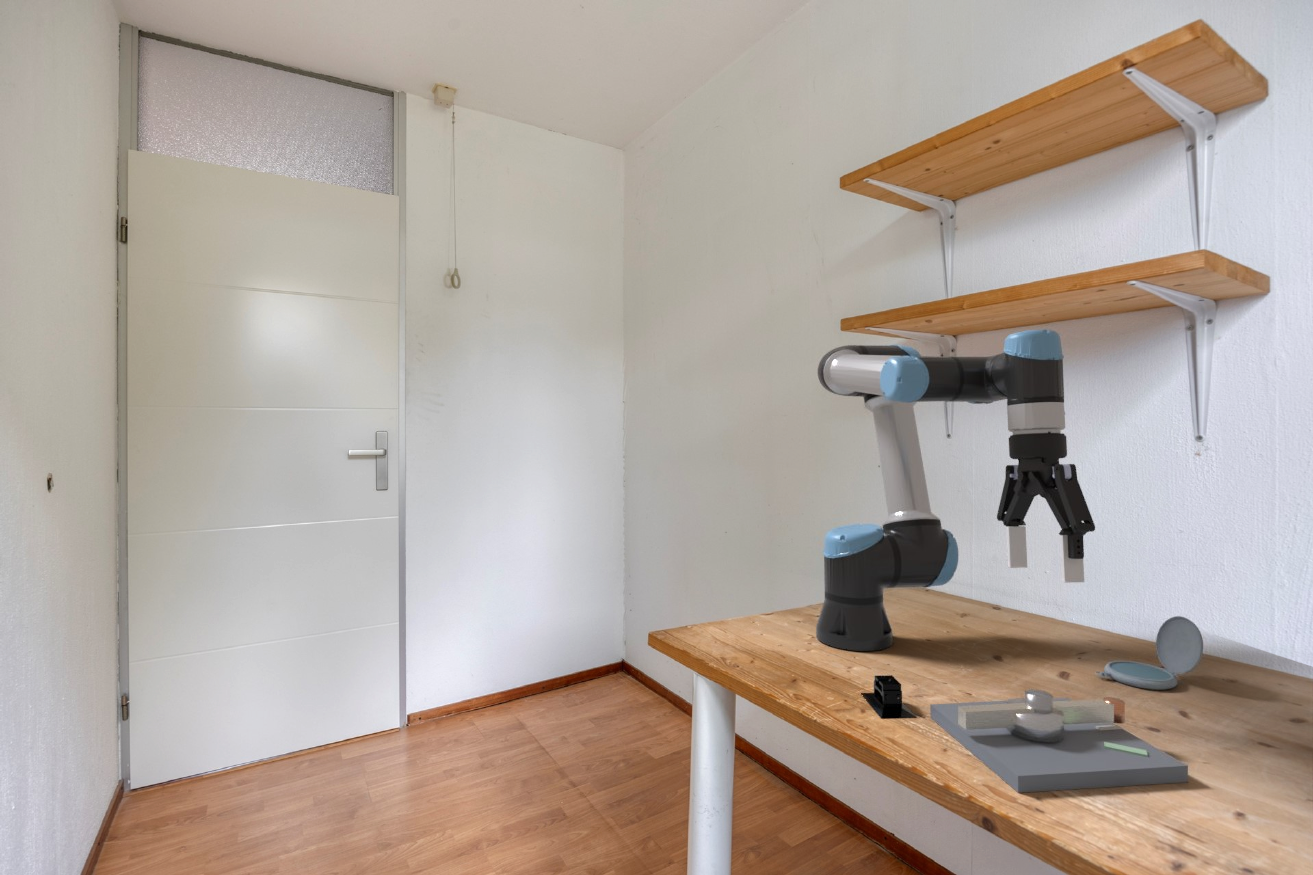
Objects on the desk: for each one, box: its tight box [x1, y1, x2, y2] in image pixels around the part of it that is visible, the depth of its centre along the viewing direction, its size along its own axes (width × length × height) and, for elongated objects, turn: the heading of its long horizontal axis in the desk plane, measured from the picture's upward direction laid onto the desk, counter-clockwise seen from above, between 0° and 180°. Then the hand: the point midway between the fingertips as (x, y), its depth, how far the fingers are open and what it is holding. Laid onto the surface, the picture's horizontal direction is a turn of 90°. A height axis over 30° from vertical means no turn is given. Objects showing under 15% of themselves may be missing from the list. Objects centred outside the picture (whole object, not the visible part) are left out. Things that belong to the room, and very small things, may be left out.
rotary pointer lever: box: [958, 688, 1126, 742], centre depth 86 cm, size 7×23×5 cm, turn 95°
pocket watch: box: [1094, 615, 1204, 691], centre depth 109 cm, size 10×11×15 cm
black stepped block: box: [860, 674, 918, 720], centre depth 100 cm, size 12×7×5 cm, turn 1°
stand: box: [929, 697, 1189, 794], centre depth 86 cm, size 20×22×2 cm
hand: (1043, 574), depth 95 cm, fingers open, 13 cm apart
